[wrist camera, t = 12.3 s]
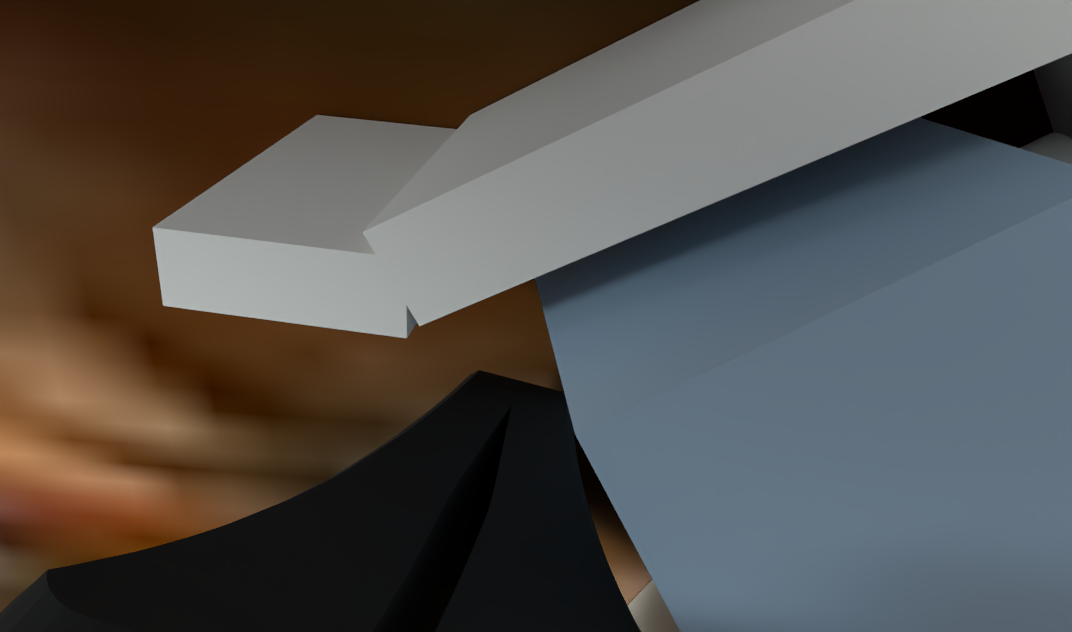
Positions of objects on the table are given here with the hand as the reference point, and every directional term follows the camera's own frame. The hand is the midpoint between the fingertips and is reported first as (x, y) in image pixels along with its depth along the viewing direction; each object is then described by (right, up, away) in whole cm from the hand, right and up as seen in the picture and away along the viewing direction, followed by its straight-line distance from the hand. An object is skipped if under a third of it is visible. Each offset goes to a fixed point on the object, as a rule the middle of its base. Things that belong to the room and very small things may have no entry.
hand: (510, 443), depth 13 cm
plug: (+3, +2, -1) cm, 3 cm away
